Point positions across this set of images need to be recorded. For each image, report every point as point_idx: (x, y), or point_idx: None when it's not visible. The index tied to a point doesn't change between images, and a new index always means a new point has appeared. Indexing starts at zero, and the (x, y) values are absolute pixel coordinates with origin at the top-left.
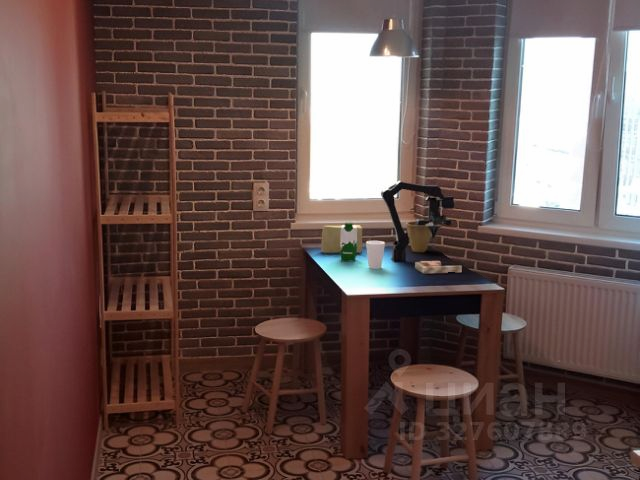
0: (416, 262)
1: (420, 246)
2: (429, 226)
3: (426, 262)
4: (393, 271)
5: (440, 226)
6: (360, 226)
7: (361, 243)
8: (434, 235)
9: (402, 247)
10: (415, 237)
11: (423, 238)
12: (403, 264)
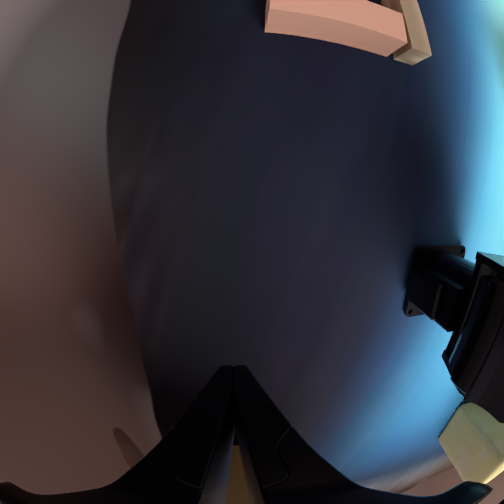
0: (425, 45)
1: (242, 464)
2: (482, 491)
3: (374, 3)
4: (488, 56)
5: (4, 491)
6: (495, 472)
7: (478, 423)
8: (213, 389)
9: (498, 259)
10: None
11: (231, 496)
12: (447, 169)
